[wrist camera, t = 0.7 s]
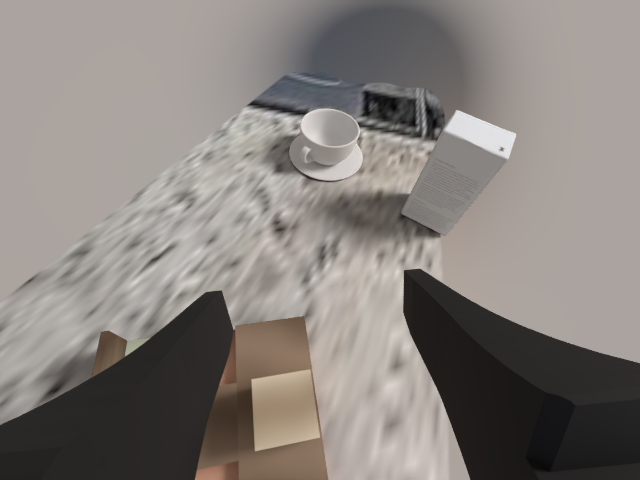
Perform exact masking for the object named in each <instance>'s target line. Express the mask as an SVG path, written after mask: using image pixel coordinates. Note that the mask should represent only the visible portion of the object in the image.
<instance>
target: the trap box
mask: <svg viewBox="0 0 640 480" xmlns="http://www.w3.org/2000/svg"><path fill="white" fill-rule="evenodd" d="M149 339H150V338H145V339H138V340H131V341H127V340H125V339H123V338H121V337H119V336H117V335H115V334H114V333H112V332H110V331H104V332H101V335H100V340H99V345H98V349H97V354H96V359H95V364H94V369H93V373H92V377H94V376H95V375H97V374H99V373H100V372H102V371H104V370H105V369H107V368H109V367H110V366H112V365H113V364H115V363H116V362H118V361H119V360H121V359H122V358H124V357H125V356H127V355H128V354H130V353H131V352H132V351H134V350H135V349H137V348H138V347H139V346H141V345H142V344H143V343H145V342H146V341H147V340H149ZM309 369H310V370H311V377H312V384H313V391H314V398H315V405H316V412H317V419H318V426H319V433H320V438H316V439H311V440H306V441H302V442H297V443H292V444H288V445H283V446H278V447H273V448H269V449H264V450H259V451H255V442H254V422H253V401H252V380H251V379H257V378H262V377H268V376H274V375H280V374H286V373H292V372H297V371H303V370H309ZM195 480H328V475H327V468H326V462H325V455H324V448H323V441H322V434H321V428H320V421H319V414H318V407H317V400H316V394H315V387H314V380H313V373H312V366H311V360H310V353H309V346H308V339H307V332H306V326H305V319H304V316H302V317H295V318H288V319H281V320H274V321H267V322H259V323H252V324H245V325H238V326H235V330H233V337H232V343H231V348H230V353H229V357H228V360H227V363H226V366H225V369H224V372H223V375H222V378H221V381H220V384H219V387H218V390H217V393H216V396H215V399H214V402H213V405H212V408H211V411H210V415H209V418H208V422H207V426H206V430H205V435H204V439H203V443H202V448H201V452H200V457H199V462H198V467H197V472H196V477H195Z"/></svg>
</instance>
